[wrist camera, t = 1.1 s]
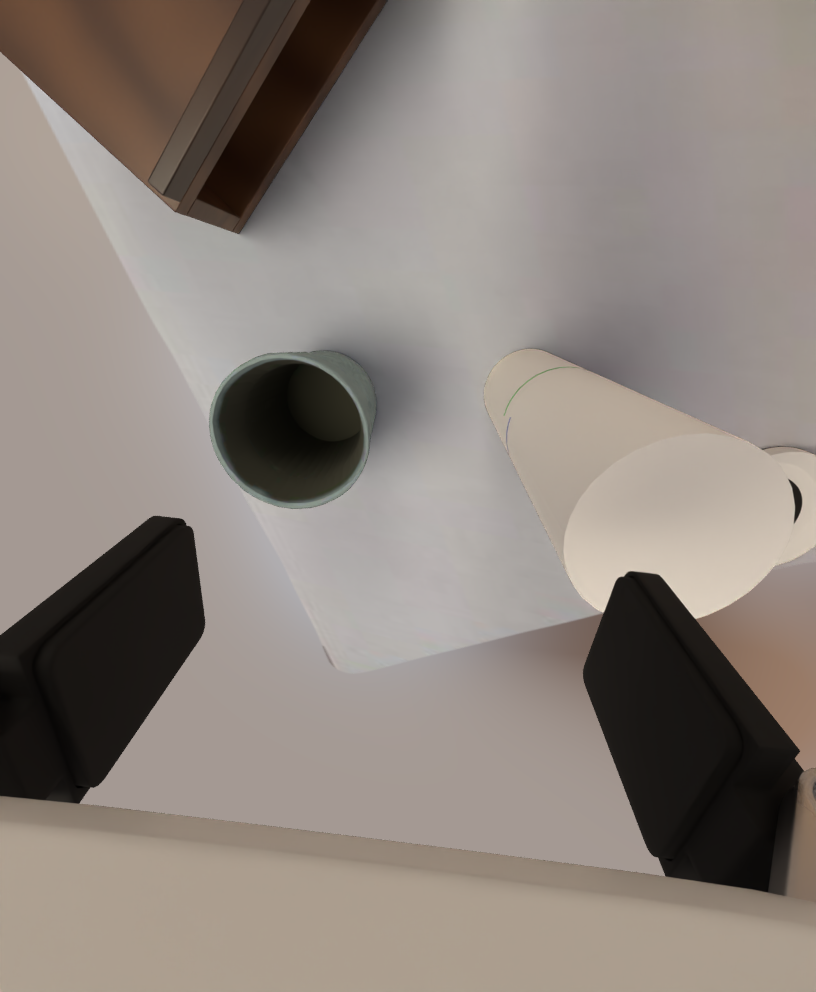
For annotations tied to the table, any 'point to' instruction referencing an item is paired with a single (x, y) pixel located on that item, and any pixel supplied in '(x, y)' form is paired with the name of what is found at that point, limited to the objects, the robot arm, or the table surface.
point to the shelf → (190, 84)
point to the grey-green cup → (294, 426)
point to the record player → (799, 498)
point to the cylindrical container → (638, 484)
